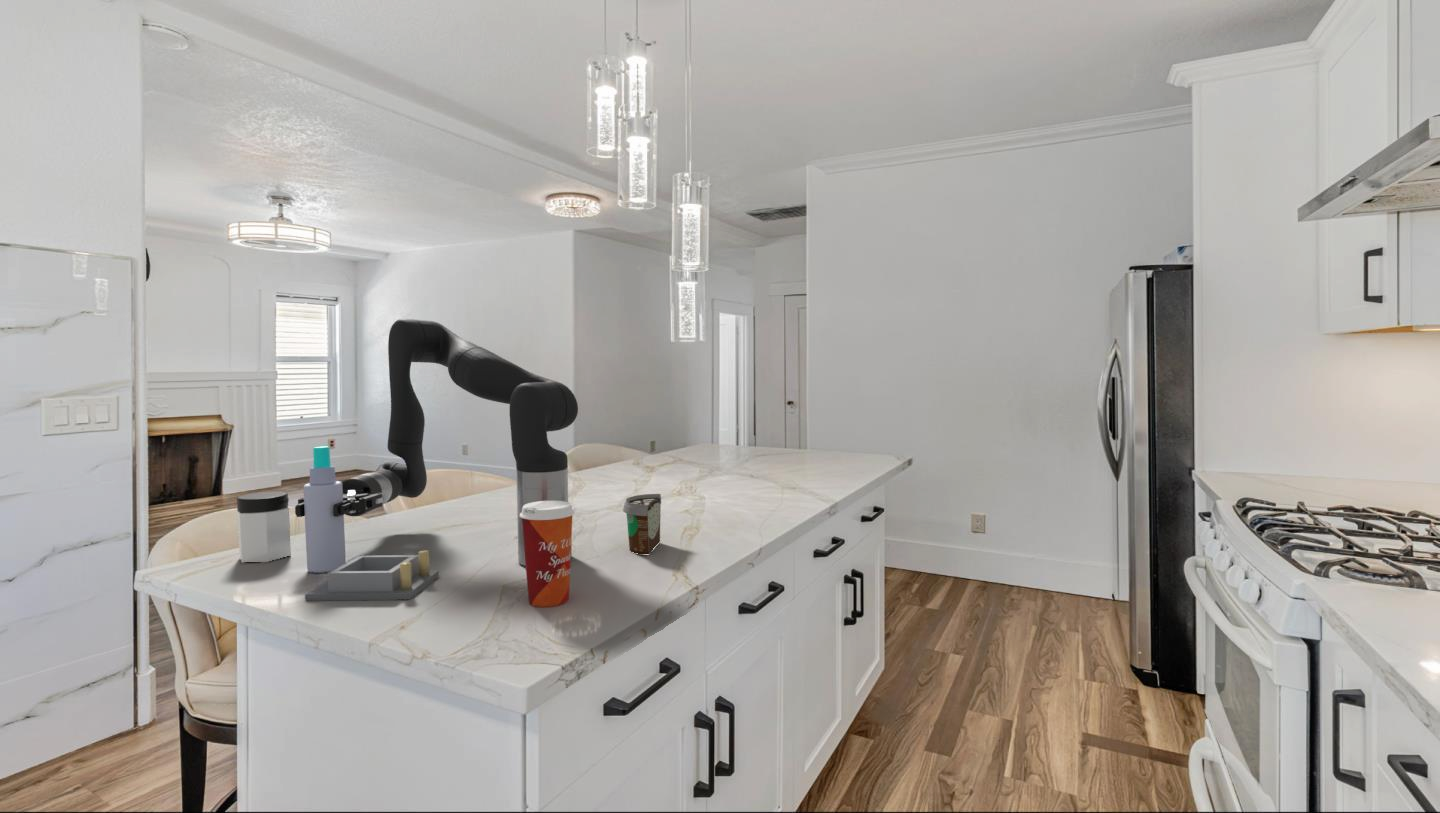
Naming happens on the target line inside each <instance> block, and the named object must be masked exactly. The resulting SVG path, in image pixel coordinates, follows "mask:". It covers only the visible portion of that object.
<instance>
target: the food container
mask: <svg viewBox="0 0 1440 813" xmlns="http://www.w3.org/2000/svg"><path fill="white" fill-rule="evenodd" d="M661 504H662V494H661V493H648V494H647V493H646V494H639V495H638V494H637V495H633V496H628V497H627V498H626V499H625V502H624V504H623V508H622V509H623V510H622V512H623V513H626V522H627V523H626V525H627V534H628V535H627V536H628V548H629V552H630V551H631V552H630V553H632V552H634V553H638V554H650V553H651V551H652V550H653V548H654V547H655V546H656V545H657V544H658V543H659V542H660V543H661ZM634 553H633V554H634ZM638 554H637V555H638ZM651 554H652V553H651ZM651 554H650V555H651Z"/></svg>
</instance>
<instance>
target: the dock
mask: <svg viewBox="0 0 1440 813" xmlns="http://www.w3.org/2000/svg"><path fill="white" fill-rule="evenodd" d="M438 576H439V577H440V570H430V552H429V550H426V549H425V550H420V551H418V554H411V555H408V554H407V555H404V554H403V555H402V554H399V555H398V554H393V555H384V554H383V555H379V554H378V555H358V556H356V557H354V558H352V559H351V560H349V561H346V563H345V564H344V565H342V566H340V567H338V568H336V569H334V570H333V571H331V572H327V581H326V582H325V583H323V584H320V585H319V586H317V587H316V588H313V589H312V590H310V591H309V592H307V593H305V594H304V595H305V596H304V597H305V602H307V600H309V602H310V601H311V600H312V601H389V600H390V601H393V600H395V601H397V600H398V599H400V600H399V601H401V599H405V600H406V599H409V600H411V599H412V598H413V597H414V596H416V595H417V594H418V593H420V592H421V591H422V590H423V589H425V588H427V586H429V584H431V583H433V581H435V580H436V579H437V578H439V577H438ZM415 594H416V595H415ZM396 599H397V600H396ZM405 600H404V601H405ZM406 601H407V600H406Z"/></svg>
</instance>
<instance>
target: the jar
mask: <svg viewBox="0 0 1440 813" xmlns="http://www.w3.org/2000/svg"><path fill="white" fill-rule="evenodd" d="M288 494H289V493H288V492H285V491H261V492H260V491H259V492H254V493H246V494H243V495H239V496H238V497H236V506H237V509H236V510H237V512H236V514H237V532H238V536H237V537H238V555H239V559H240V561H241V564H244V563H243V562H261V563H270V562H269V561H271V562H273V561H272V560H274V561H277V560H276V559H278V560H281V559H280V558H282V559H284V558H283V557H285V558H288V557H287V556H289V557H291V556H292V552H291V551H292V547H291V546H292V545H291V522H290V508H289V502H290V501H289V496H288ZM290 555H291V556H290Z"/></svg>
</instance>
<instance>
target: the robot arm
mask: <svg viewBox="0 0 1440 813" xmlns="http://www.w3.org/2000/svg"><path fill="white" fill-rule="evenodd" d="M387 347H388V348H387V350H388V352H387V353H388V354H387V355H388V376H389V387H390V388H389V390H390V391H389V392H390V419H389V427H388V428H389V429H388V436H387V438H388V439H387V449H388V450H387V451H388V452H389V453H391V454H393V456H394V455H395V456H396V457H399V458H401V459H402V460H403V461H404V463H399V462H392V461H390V462H389V461H388V462H382V463H381V464H380V465H379V466H378V467H377V469H376V470H375V471H372V472H365V473H362V474H360V475H356V476H353V477H350V478H347V479H344V480H342V481H341V482H342V488H343V501H342V502H339V503H337V504H334V506H333V514H334V517H339V516H342V515H344V516H345V515H346V516H349V517H360V516H363V515H366V514H367V513H370V512H371V511H375V510H377V509H379V508H381V507H383V506H384V505H385V504H388V503H390V502H391V501H393V500H396V498H398V497H399V496H400V497H405V498H409V499H412V498H417V497H419V496H420V495H422V493H423V492H424V490H426V486H427V482H428V481H427V480H428V479H427V478H428V476H427V471H426V469H427V468H426V465H425V459H424V452H423V441H424V434H425V425H426V424H425V422H426V421H425V418H426V417H425V414H424V410H423V406H421V403H420V400H419V399H418V397H417V395H416V392H415V390H414V387H413V385H412V381H411V366H412V363H425V364H426V363H427V364H431V363H432V364H437V365H441V366H443V367H445V368H447V371H448V372H447V373H448V375H449V377H450V379H451V380H452V382H453V383H454V384H455V385H456V386H458V387H460V389H462V390H464V391H466V392H468V393H469V394H471V395H473V396H475V397H478V398H481V399H484V400H488V401H492V402H495V403H496V402H497V403H501V404H507V405H509V425H510V435H511V449H512V454H513V457H514V459H515V465H516V466H515V468H516V474H515V475H516V505H517V506H516V508H517V509H516V510H517V511H516V513H517V514H516V515H517V516H516V517H517V518H516V519H517V555H518V564H520V565H521V566H525V567H526V563H525V551H524V538H523V526H522V518H521V517H520V516H519V515H520V513H521V512H522V507H523V506H524V505H525V504H528V503H532V502H538V501H565V502H569V480H568V479H569V476H568V475H569V474H568V471H569V469H568V466H569V465H568V462H569V460H568V454H567V453H566V452H565V451H562V450H559V449H556V448H554V447H552V446H551V445H550V444H549V439H548V433H549V432H556V431H561V430H563V429H565V428H568V427H569V426H571V425H572V424H573V423H574V422H575V420H576V418H577V417H578V414H579V406H578V402H577V399H576V396H575V394H574V393H573V391H572V390H571V389H570V388H569V387H568V386H567V385H565V384H564V383H562V382H558V381H556V380H552V379H549V378H546V377H544V376H540V375H537V374H535V373H533V372H529V371H528V370H526V369H524V368H522V367H521V366H519V365H516V364H515V363H513V362H512V361H509V360H507V359H505V358H503V357H502V356H500V355H498V354H496V353H494V352H492V351H490V350H488V349H486V348H484V347H482V346H478V345H477V344H475V343H473V342H471V341H469V340H466V339H463V338H462V337H460V336H458V334H456V333H454V332H453V331H452V330H450V329H448V328H447V327H446V326H444V325H443V324H441V323H439V322H437V321H432V320H422V319H414V318H413V319H412V318H411V319H410V318H400V319H397V320H396V321H394V323H393V324H392V325H391V326H390V329H389V333H388V344H387ZM547 432H548V433H547ZM294 509H295V510H294V514H295V515H296V517H297V518H302V517H305V511H304V496H302V497H300V498H297V504H296V505H295V506H294ZM572 542H573V540H572V538H571V557H572V555H573V553H572V552H573V547H572V545H573V544H572Z"/></svg>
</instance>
